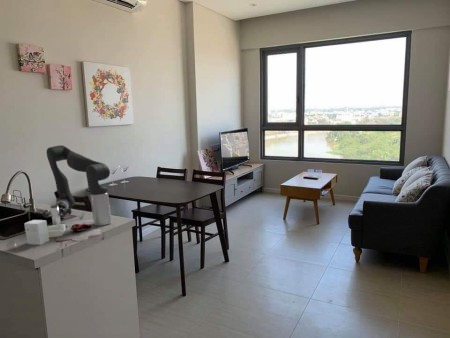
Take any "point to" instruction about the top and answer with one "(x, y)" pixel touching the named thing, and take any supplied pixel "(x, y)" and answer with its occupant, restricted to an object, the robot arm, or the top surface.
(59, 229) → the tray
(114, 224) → the top surface
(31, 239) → the small box
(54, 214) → the glass shaker
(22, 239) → the top surface
